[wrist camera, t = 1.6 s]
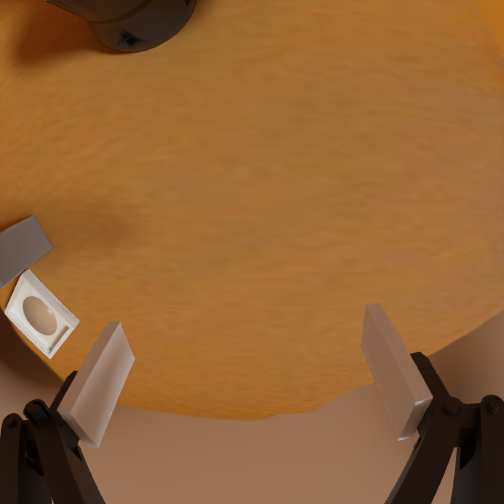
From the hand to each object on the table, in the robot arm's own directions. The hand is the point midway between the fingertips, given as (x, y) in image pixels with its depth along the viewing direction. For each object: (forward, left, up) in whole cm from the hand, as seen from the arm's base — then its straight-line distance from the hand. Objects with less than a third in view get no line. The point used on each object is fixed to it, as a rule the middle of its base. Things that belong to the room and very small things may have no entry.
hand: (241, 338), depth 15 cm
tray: (-13, -44, -27) cm, 53 cm away
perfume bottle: (-22, -31, -27) cm, 46 cm away
